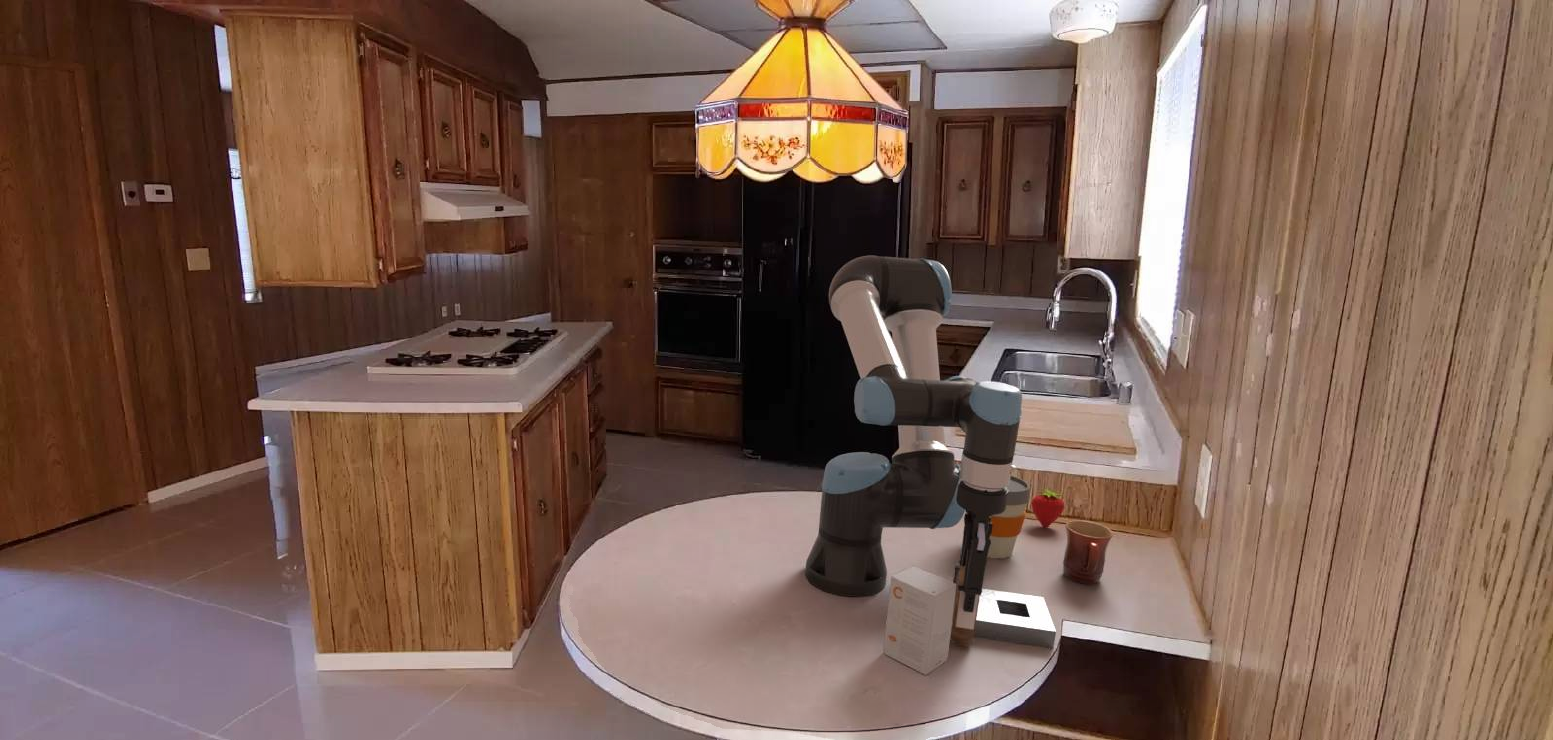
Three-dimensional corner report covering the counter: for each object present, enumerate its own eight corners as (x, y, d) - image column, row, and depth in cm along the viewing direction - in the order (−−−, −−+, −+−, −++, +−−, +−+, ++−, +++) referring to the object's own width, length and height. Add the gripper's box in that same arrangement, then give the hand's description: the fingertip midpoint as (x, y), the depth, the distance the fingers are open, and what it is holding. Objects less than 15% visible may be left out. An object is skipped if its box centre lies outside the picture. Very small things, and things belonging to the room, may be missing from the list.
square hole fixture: (950, 633, 132) (957, 583, 130) (946, 599, 144) (952, 553, 142) (1053, 648, 130) (1061, 597, 128) (1040, 612, 142) (1048, 565, 140)
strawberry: (1023, 521, 185) (1029, 480, 183) (1053, 522, 186) (1059, 481, 184) (1035, 532, 179) (1042, 490, 177) (1066, 532, 180) (1073, 490, 178)
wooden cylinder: (950, 643, 127) (960, 574, 124) (950, 631, 130) (959, 564, 128) (973, 647, 126) (983, 578, 124) (972, 635, 130) (982, 567, 127)
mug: (1055, 564, 162) (1062, 517, 160) (1100, 571, 161) (1108, 524, 159) (1063, 591, 151) (1072, 540, 149) (1112, 598, 149) (1121, 547, 147)
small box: (947, 661, 124) (958, 583, 121) (925, 676, 119) (935, 596, 116) (904, 639, 129) (913, 564, 126) (881, 653, 124) (890, 576, 122)
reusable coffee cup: (1025, 566, 161) (1035, 495, 158) (961, 557, 162) (971, 487, 159) (1016, 541, 173) (1026, 475, 170) (957, 533, 174) (966, 468, 172)
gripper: (1016, 505, 114) (993, 652, 119) (1002, 468, 130) (982, 599, 135) (963, 498, 115) (942, 644, 120) (955, 463, 131) (937, 593, 136)
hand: (963, 620), depth 128 cm, fingers closed on wooden cylinder, 3 cm apart
